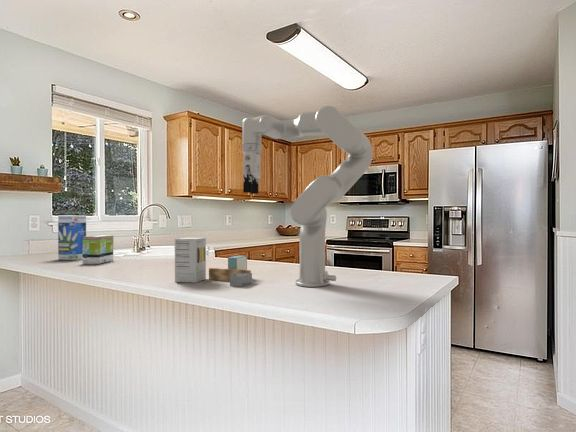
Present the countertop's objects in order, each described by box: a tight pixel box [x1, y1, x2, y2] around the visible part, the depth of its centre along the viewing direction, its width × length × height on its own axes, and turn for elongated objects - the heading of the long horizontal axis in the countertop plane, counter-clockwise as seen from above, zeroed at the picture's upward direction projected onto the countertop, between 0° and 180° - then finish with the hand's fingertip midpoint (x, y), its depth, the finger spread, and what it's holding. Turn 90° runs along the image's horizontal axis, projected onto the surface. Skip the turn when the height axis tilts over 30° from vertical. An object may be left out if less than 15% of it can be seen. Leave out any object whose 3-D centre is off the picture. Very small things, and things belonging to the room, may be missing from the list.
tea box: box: [81, 234, 114, 265], centre depth 210 cm, size 15×10×15 cm
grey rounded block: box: [229, 272, 253, 288], centre depth 142 cm, size 5×8×4 cm, turn 159°
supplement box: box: [174, 237, 207, 284], centre depth 151 cm, size 10×9×17 cm
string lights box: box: [57, 214, 87, 261], centre depth 225 cm, size 13×8×26 cm, turn 80°
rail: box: [208, 267, 252, 282], centre depth 150 cm, size 18×1×4 cm, turn 67°
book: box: [227, 255, 248, 270], centre depth 154 cm, size 4×8×9 cm, turn 157°
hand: (251, 193), depth 151 cm, fingers open, 9 cm apart
